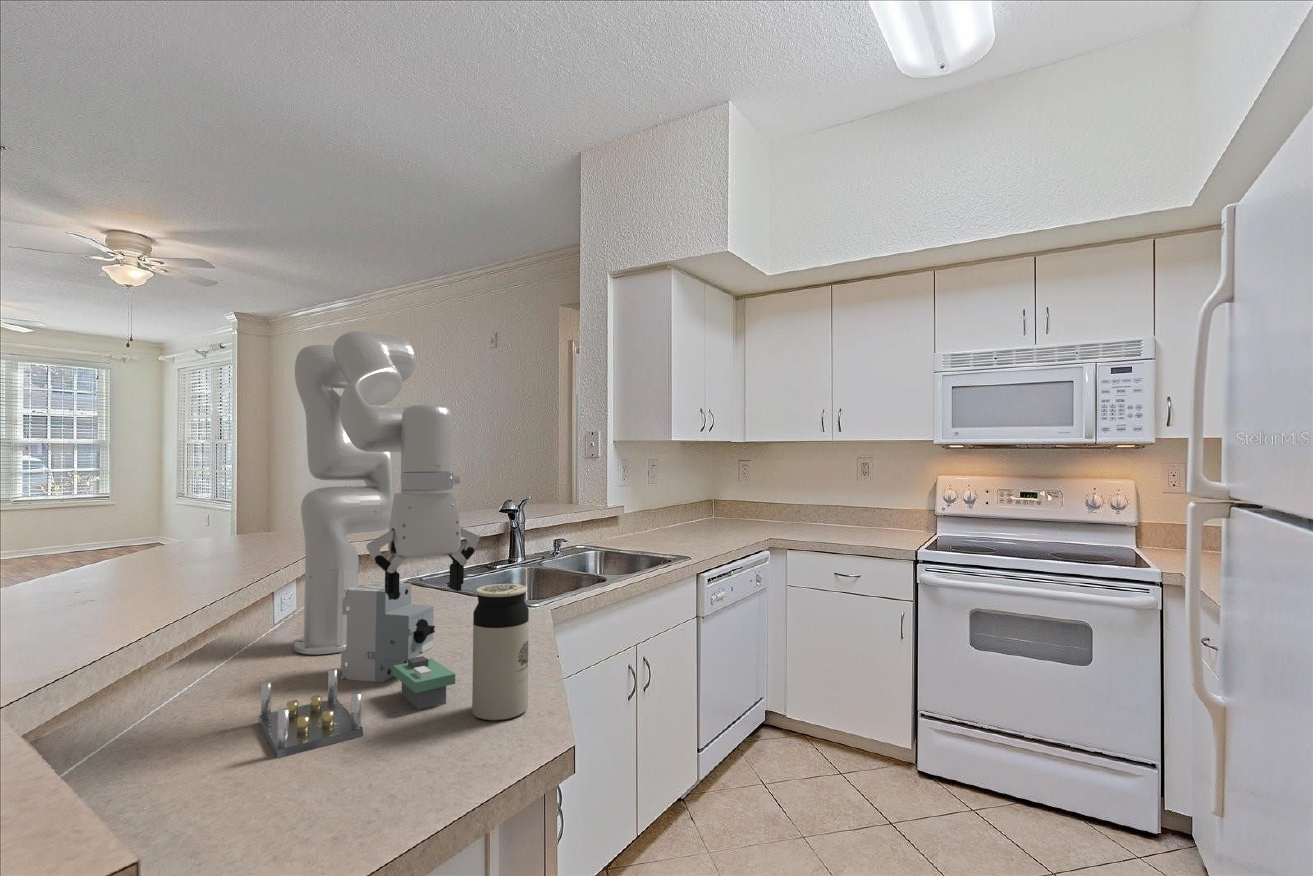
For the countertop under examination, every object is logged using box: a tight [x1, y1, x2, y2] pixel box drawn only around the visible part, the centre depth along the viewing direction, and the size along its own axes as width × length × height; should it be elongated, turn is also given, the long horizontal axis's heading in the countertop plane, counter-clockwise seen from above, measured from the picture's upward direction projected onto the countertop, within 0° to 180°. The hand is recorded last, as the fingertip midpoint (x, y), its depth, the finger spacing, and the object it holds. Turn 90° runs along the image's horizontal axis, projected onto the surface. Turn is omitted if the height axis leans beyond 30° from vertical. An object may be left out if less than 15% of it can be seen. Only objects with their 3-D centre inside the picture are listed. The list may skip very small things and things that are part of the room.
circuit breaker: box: [340, 581, 436, 683], centre depth 110 cm, size 8×14×15 cm, turn 78°
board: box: [393, 655, 456, 693], centre depth 99 cm, size 10×6×2 cm, turn 40°
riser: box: [401, 682, 447, 711], centre depth 98 cm, size 8×4×3 cm, turn 40°
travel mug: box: [471, 583, 530, 722], centre depth 94 cm, size 8×8×18 cm
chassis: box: [258, 668, 364, 759], centre depth 87 cm, size 14×10×6 cm
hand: (425, 593), depth 99 cm, fingers open, 9 cm apart
